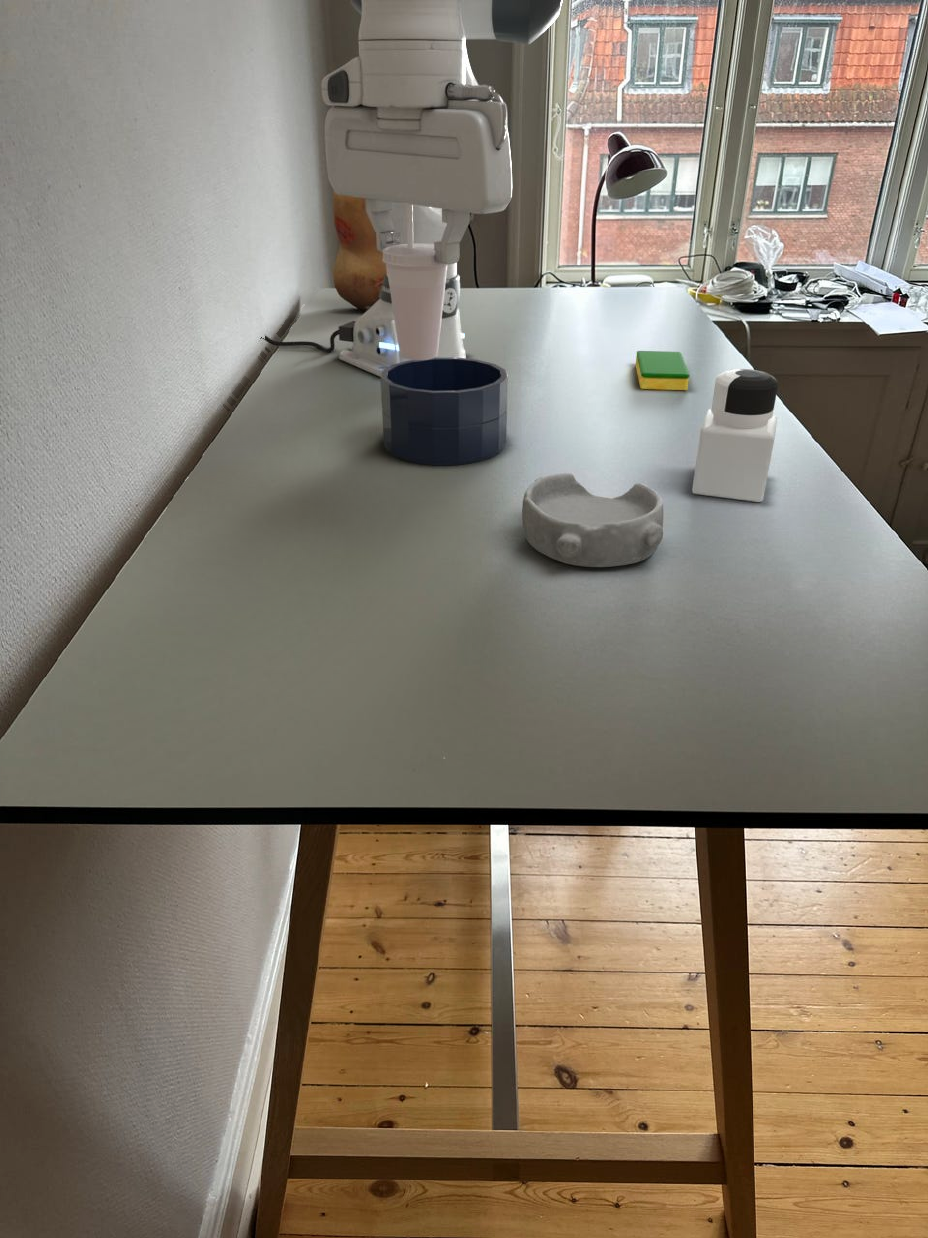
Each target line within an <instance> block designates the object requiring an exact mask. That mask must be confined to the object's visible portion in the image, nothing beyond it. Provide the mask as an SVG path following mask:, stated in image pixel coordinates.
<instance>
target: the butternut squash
mask: <svg viewBox="0 0 928 1238" xmlns="http://www.w3.org/2000/svg"><path fill="white" fill-rule="evenodd" d="M332 208H333V221H334V227H335V231H336V234H337V237H338V243H339V246H338V251H337V255H336V258H335V261H334V266H333V274H332V275H333V276H332V277H333V284H334V288H335V290H336V293H337V294H338V295H339V297H340V298H342V299H343V300H344V301H346V302H347V303H349V304H350V305H352V306H354V307H355V308H356V309H359V310H363V311H367V310H369V309H370V308H371V307H372V306H373V305H374V304H375V303H376V302H377V301H378V300H379V299H380V298H379V295H380V291H381V287H382V286H378V287H375V285H376V284H378V283H381V281H375V279H379V278H384V276H385V275H386V263H384V262H383V261H382V259H383V252H379V251H378V250H377V241H376V232H375V230H374V228H373V226H372V223H371V221H370V219H369V217H368V214H367V212H366V199H365V198H360V197H353V196H346V195H339V194H336V193H335V191H334V190H333V192H332Z"/></svg>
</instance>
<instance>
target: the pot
mask: <svg viewBox="0 0 928 1238" xmlns="http://www.w3.org/2000/svg"><path fill="white" fill-rule="evenodd" d="M508 384H509V376H508V372H507V370H506V369H505V368H503V367H501V366H499V365H497V364H496V363H492V362H488V361H486V360H485V361H484V360H481V359H476V358H456V357H455V358H454V357H446V358H432V359H427V360H408V361H405V362H401V363H397V364H393V365H391V366H389V367H388V368H386V369H384V370H383V371H382V372H381V377H380V396H381V397H380V398H381V414H382V415H381V417H382V438H383V445H384V448H385V450H386V451H387V452H388V453H389V454H390V455H391V456H393V457H395V458H397V459H400V460H403V461H406V462H410V463H412V464H419V465H426V466H427V465H428V466H461V465H468V464H474V463H478V462H482V461H485V460H489V459H492V458H493V457H496V456H497V455H498V454H499V455H500V453H501V452H502V451H504V449H505V447H506V443H507V426H508V425H507V423H508Z"/></svg>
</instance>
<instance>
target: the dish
mask: <svg viewBox="0 0 928 1238" xmlns="http://www.w3.org/2000/svg"><path fill="white" fill-rule="evenodd" d="M664 511H665V510H664V502H663V499H662V497H661V495H660V494H659V493H658V492H657V491H656V490H655V489H653V488H651V487H649V486H648V485H646V484H643V483H641V482H640V483H639V482H637V483H634V485H633V486H632V487H631V488H630V489H628V491H626V492H625V493H624V494H622V495H619V496H616V497H611V498H610V497H603V496H599V495H595V494H593V493H591V492H590V491H589V490H588V489H586V488H585V487H584V486H583V485H582V484H581V483H580V482H579V481H578V480H577V479H576V477H575V475H574V474H572V473H567V472H563V473H556V474H550V475H546V476H540V477H538V478H537V479H535V480H534V481H533V482H532V483H531V484H530V485H529V486H528V487H527V488H526V490H525V491H524V495H523V499H522V507H521V524H522V530H523V533H524V537H525V539H526V540H527V542H528V544H529V545H530V546H531V547H532V548H533V549H534V550H536V551H537V552H539V553H541V554H543V555H544V556H546V557H548V558H550V559H553V560H555V561H558V562H560V563H564V564H567V565H572V566H578V567H587V568H611V567H618V566H626V565H632V564H636V563H640V562H642V561H644V560H647V559H648V558H650V557H651V556H652V555H653V554H654V553H655V552H656V551H657V548H658V547H659V545H660V544H661V543H662V540H663V537H664V529H663V528H664Z"/></svg>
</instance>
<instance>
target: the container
mask: <svg viewBox="0 0 928 1238" xmlns="http://www.w3.org/2000/svg"><path fill="white" fill-rule="evenodd" d="M778 388H779V381H778V380H777V379H776V377H774V376H773V375H771V374H769V373H768V372H765V371H762V370H759V369H758V370H757V369H749V368H735V369H730V370H729V369H728V370H727V371H723V372H720V373H719V374H718V375H717V377H716V378H715V382H714V388H713V395H712V403H711V408H709V409H707V411H706V415H705V417H704V419H703V423H702V426H701V428H700V433H699V439H698V445H697V452H696V453H697V455H696V460H695V466H694V467H695V468H694V475H693V482H692V489H691V491H692V493H693V495H699V496H700V495H701V496H708V497H715V498H725V499H730V500H731V499H732V500H741V501H747V502H755V503H761V502H762V501H763V500H764V497H765V491H766V487H767V481H768V476H769V470H770V465H771V459H772V454H773V449H774V444H775V439H776V438H775V437H776V432H777V424H778V423H777V422H778V417H777V415H776V414H774V411H775V404H776V399H777V393H778V390H779V389H778Z"/></svg>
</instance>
